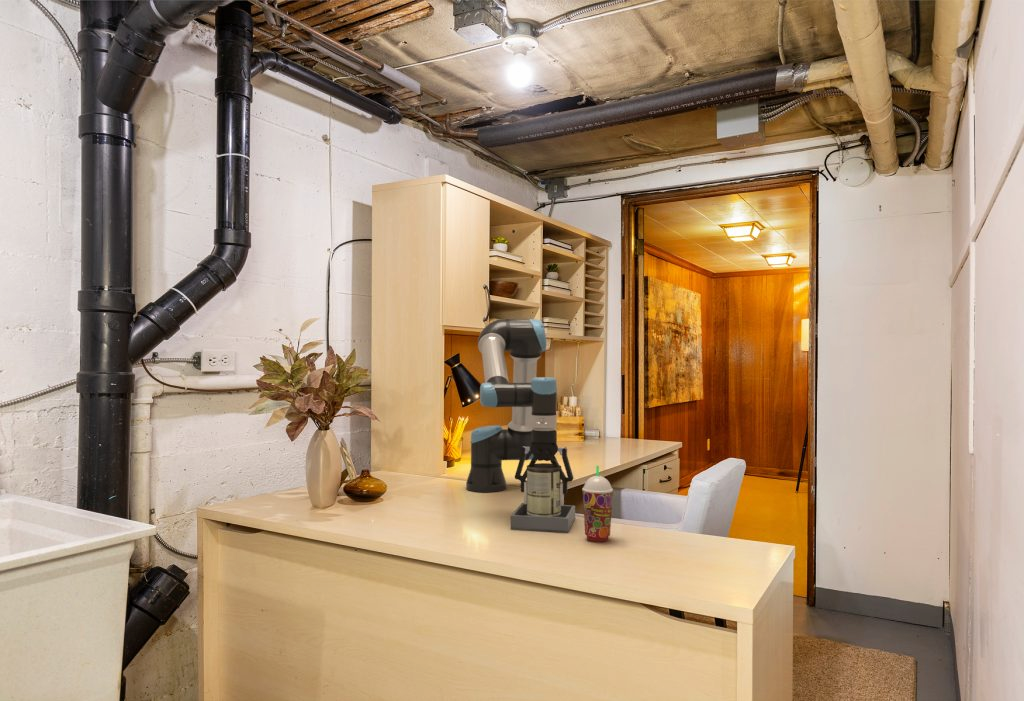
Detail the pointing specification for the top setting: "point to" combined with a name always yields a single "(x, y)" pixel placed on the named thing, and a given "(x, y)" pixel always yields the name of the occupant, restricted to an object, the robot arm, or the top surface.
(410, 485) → the top surface
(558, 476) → the coffee can
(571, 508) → the bin
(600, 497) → the smoothie
